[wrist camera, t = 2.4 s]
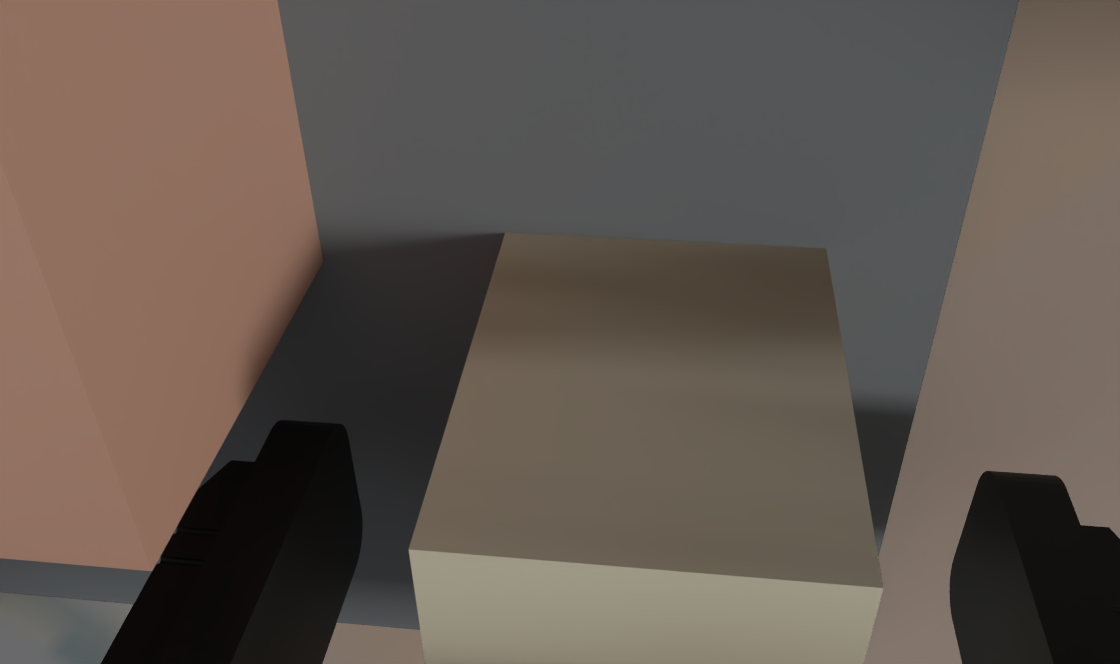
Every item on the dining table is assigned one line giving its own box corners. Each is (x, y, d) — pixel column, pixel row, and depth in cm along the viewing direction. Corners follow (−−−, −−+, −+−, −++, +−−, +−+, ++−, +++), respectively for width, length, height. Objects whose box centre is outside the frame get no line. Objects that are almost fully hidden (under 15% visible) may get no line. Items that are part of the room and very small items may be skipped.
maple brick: (506, 232, 11) (408, 548, 8) (826, 248, 11) (882, 587, 7) (524, 595, 15) (463, 927, 11) (765, 616, 14) (783, 964, 11)
